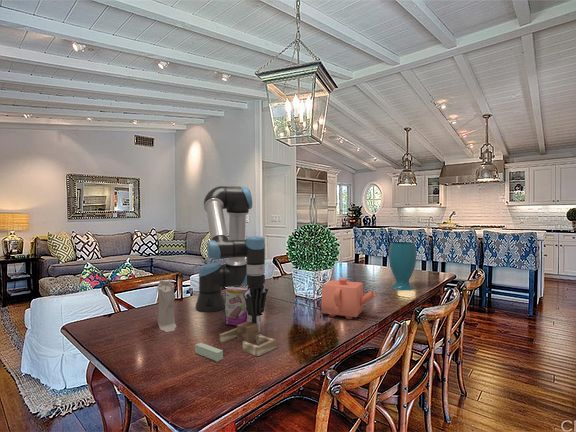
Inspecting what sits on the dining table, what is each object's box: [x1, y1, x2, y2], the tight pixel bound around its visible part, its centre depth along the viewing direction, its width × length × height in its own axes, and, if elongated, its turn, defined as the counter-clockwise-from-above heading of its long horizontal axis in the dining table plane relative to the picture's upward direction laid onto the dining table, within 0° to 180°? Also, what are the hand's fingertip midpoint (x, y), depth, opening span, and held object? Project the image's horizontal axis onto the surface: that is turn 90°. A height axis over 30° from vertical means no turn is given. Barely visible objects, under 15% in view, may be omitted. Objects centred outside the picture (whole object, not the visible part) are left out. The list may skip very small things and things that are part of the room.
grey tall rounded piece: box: [157, 280, 177, 333], centre depth 154 cm, size 7×14×20 cm, turn 27°
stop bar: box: [194, 342, 224, 362], centre depth 123 cm, size 12×2×3 cm, turn 53°
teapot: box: [320, 277, 377, 320], centre depth 171 cm, size 25×23×18 cm
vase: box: [388, 241, 418, 291], centre depth 230 cm, size 17×17×30 cm
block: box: [236, 321, 260, 344], centre depth 139 cm, size 6×6×6 cm
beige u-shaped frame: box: [219, 327, 277, 357], centre depth 134 cm, size 22×11×3 cm, turn 53°
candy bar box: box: [224, 287, 252, 327], centre depth 157 cm, size 11×5×16 cm, turn 71°
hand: (256, 331), depth 143 cm, fingers closed
